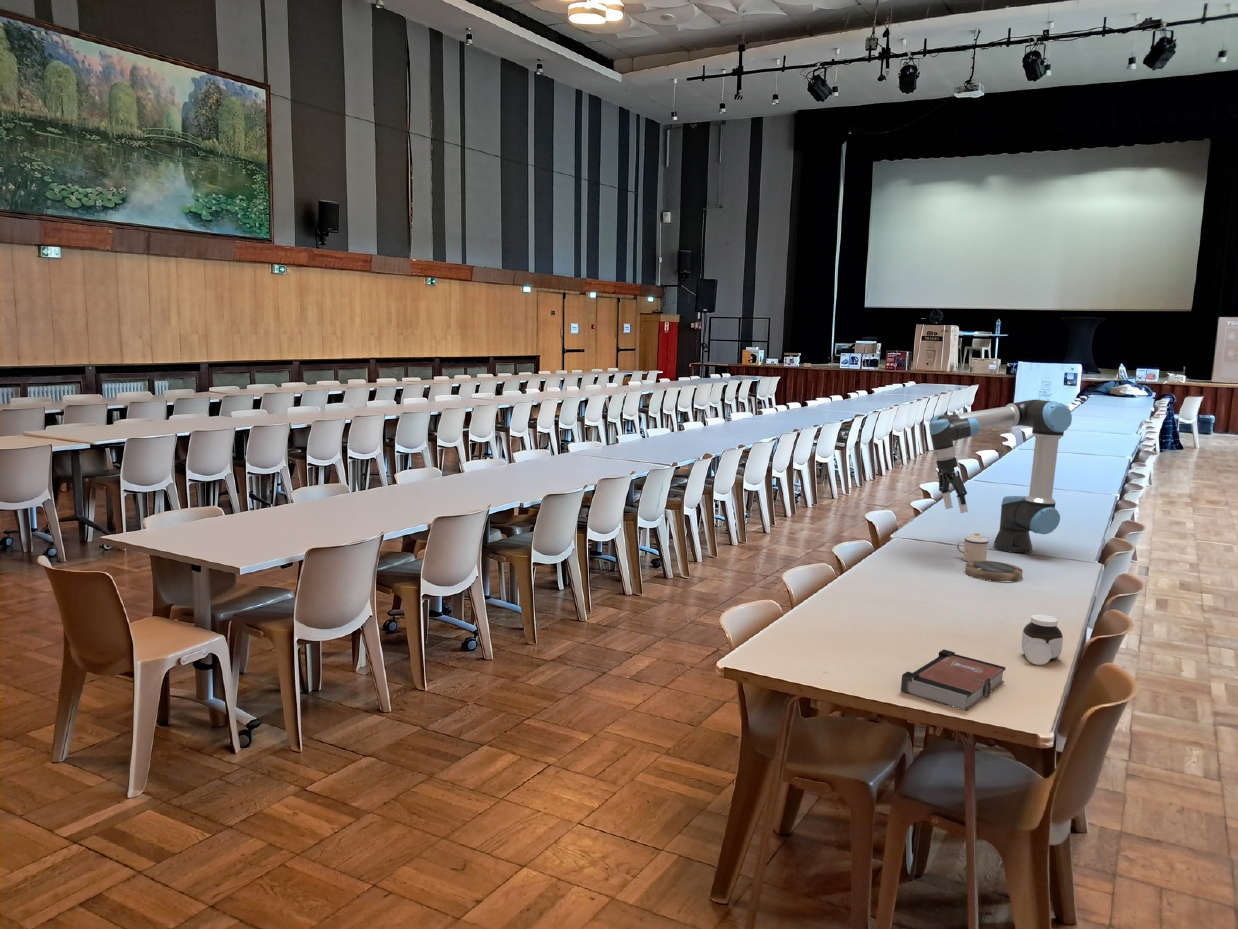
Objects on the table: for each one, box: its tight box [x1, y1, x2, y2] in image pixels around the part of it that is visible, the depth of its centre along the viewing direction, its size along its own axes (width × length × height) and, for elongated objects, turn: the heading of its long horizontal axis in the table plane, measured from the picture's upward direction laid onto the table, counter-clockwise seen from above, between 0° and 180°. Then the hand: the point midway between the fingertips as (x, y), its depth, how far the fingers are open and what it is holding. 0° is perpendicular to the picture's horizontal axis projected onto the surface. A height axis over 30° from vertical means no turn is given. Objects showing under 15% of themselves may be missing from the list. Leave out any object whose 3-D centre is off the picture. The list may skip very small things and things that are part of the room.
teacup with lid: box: [956, 531, 989, 563], centre depth 365 cm, size 12×9×12 cm
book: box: [900, 649, 1007, 712], centre depth 234 cm, size 26×18×5 cm
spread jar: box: [1021, 614, 1064, 666], centre depth 255 cm, size 12×11×12 cm
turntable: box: [964, 560, 1024, 582], centre depth 344 cm, size 20×20×3 cm
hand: (956, 510), depth 357 cm, fingers open, 13 cm apart
